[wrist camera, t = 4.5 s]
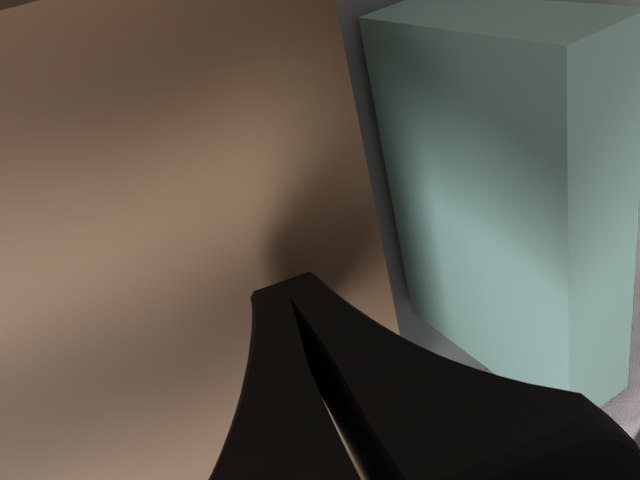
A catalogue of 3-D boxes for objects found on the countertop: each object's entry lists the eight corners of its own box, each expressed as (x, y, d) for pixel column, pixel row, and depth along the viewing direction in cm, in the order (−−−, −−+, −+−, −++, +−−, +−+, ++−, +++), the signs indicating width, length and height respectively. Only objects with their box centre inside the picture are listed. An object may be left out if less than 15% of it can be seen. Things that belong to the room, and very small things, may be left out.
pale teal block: (412, 311, 19) (461, 282, 19) (570, 430, 14) (627, 386, 15) (357, 17, 14) (425, -8, 15) (565, 46, 9) (651, 6, 10)
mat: (615, 312, 23) (621, 317, 22) (395, 398, 22) (398, 404, 21) (642, -203, 14) (651, -205, 14) (286, -110, 13) (289, -110, 13)
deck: (379, 393, 21) (428, 484, 18) (37, 525, 20) (19, 653, 16) (270, -79, 13) (321, -76, 10) (-311, 76, 12) (-484, 142, 8)
